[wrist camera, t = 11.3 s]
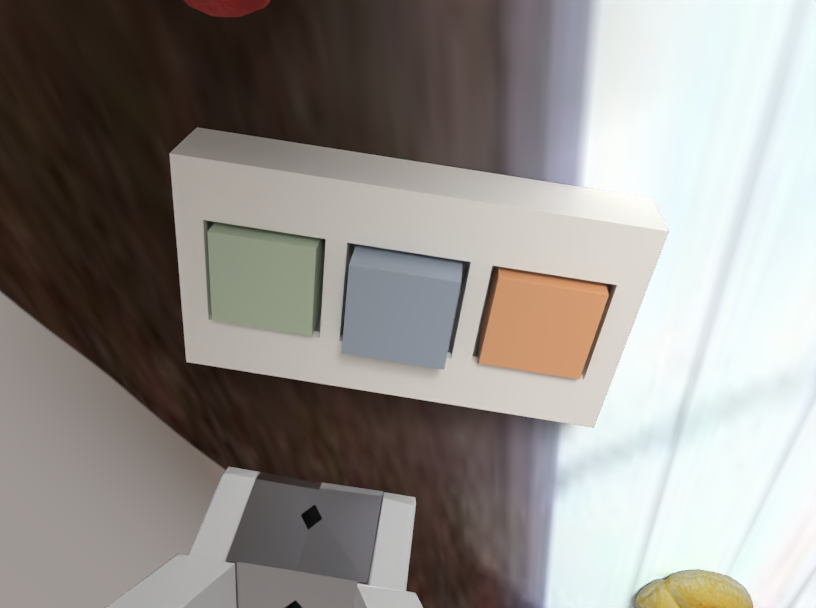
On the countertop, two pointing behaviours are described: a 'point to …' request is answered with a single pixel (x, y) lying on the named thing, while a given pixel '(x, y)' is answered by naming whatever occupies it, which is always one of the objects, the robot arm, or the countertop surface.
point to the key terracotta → (540, 322)
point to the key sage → (265, 278)
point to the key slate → (400, 306)
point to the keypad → (416, 233)
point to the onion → (227, 7)
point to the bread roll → (694, 592)
